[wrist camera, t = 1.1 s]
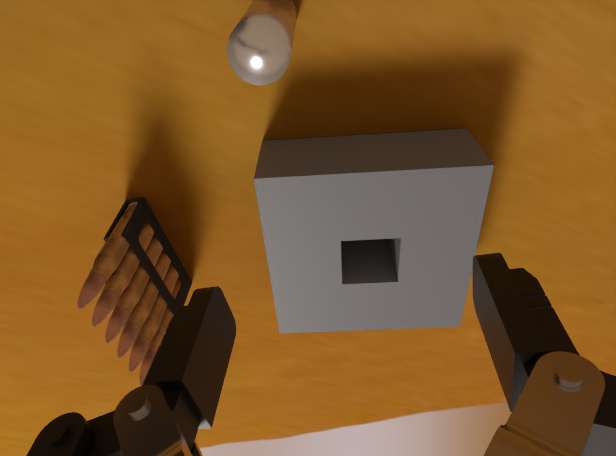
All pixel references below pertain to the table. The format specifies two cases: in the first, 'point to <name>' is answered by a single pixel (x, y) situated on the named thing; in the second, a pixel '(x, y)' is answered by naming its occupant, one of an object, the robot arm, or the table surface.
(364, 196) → the socket block
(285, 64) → the metal pin
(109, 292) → the ammunition clip
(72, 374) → the table surface
